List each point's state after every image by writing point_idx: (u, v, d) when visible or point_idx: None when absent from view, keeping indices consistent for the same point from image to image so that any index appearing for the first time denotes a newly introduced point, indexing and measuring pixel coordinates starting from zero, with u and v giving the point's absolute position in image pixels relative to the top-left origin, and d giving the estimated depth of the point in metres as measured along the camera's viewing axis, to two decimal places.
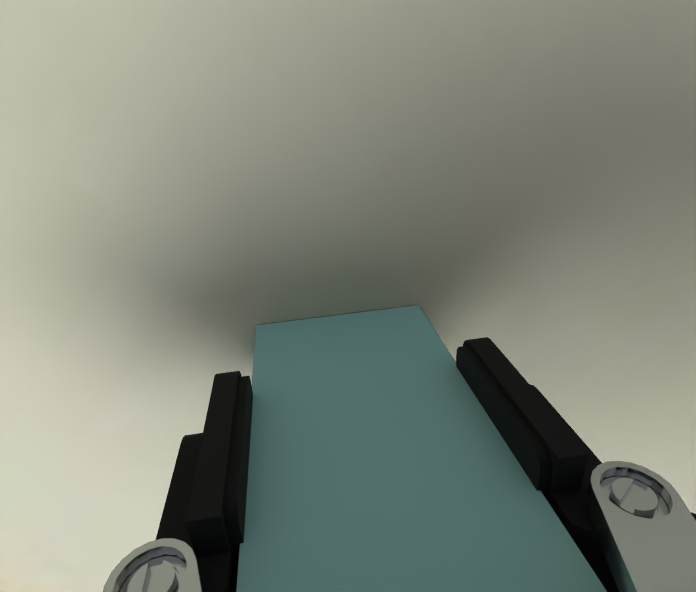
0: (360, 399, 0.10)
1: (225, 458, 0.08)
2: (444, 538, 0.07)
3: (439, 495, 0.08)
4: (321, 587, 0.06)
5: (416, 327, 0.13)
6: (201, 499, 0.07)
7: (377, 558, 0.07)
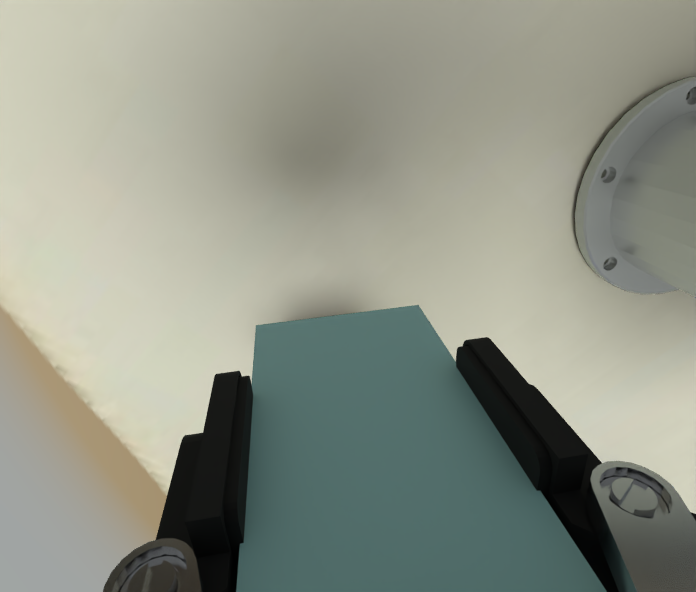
0: (360, 399, 0.10)
1: (225, 458, 0.08)
2: (444, 538, 0.07)
3: (439, 495, 0.08)
4: (321, 587, 0.06)
5: (415, 327, 0.13)
6: (201, 499, 0.07)
7: (377, 558, 0.07)
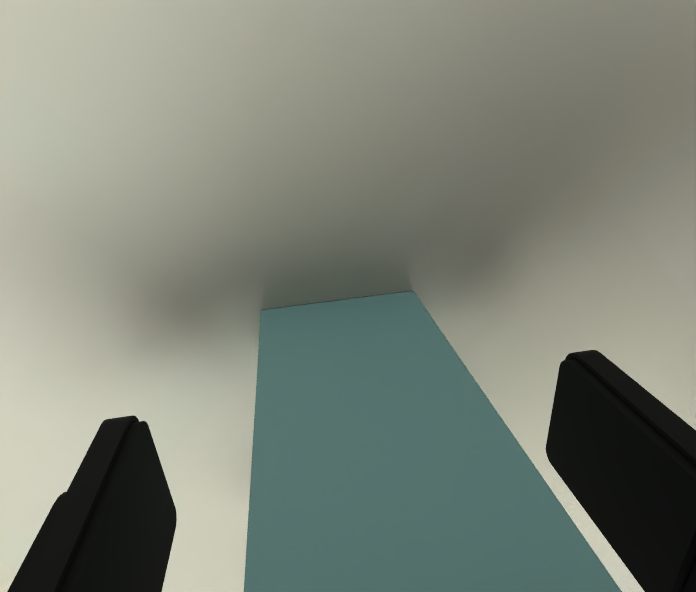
0: (357, 371, 0.11)
1: (75, 536, 0.06)
2: (432, 481, 0.08)
3: (428, 448, 0.08)
4: (322, 521, 0.07)
5: (410, 310, 0.14)
6: None
7: (372, 498, 0.08)
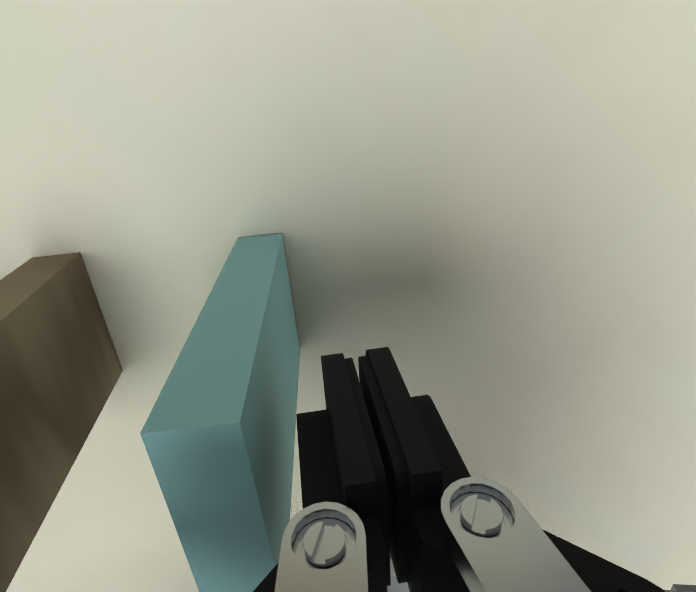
0: (284, 351, 0.14)
1: (361, 430, 0.08)
2: (279, 456, 0.11)
3: (282, 439, 0.11)
4: (265, 403, 0.10)
5: (297, 358, 0.17)
6: (352, 466, 0.07)
7: (272, 425, 0.10)
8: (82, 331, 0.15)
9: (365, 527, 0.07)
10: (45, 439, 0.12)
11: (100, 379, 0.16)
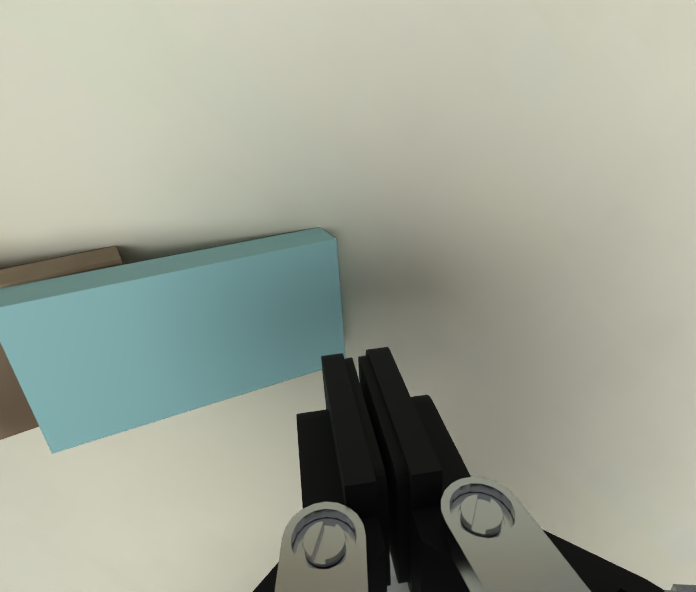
0: (228, 332, 0.15)
1: (361, 430, 0.08)
2: (117, 381, 0.14)
3: (145, 379, 0.14)
4: (82, 331, 0.13)
5: (312, 361, 0.17)
6: (352, 466, 0.07)
7: (102, 353, 0.13)
8: None
9: (365, 527, 0.07)
10: None
11: None
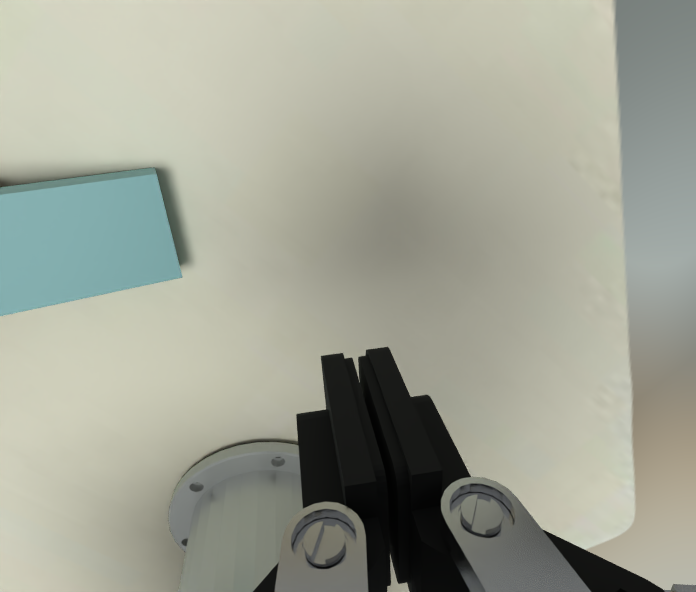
0: (70, 245, 0.19)
1: (361, 430, 0.08)
2: None
3: (2, 277, 0.19)
4: None
5: (150, 274, 0.21)
6: (352, 467, 0.07)
7: None
8: None
9: (365, 527, 0.07)
10: None
11: None
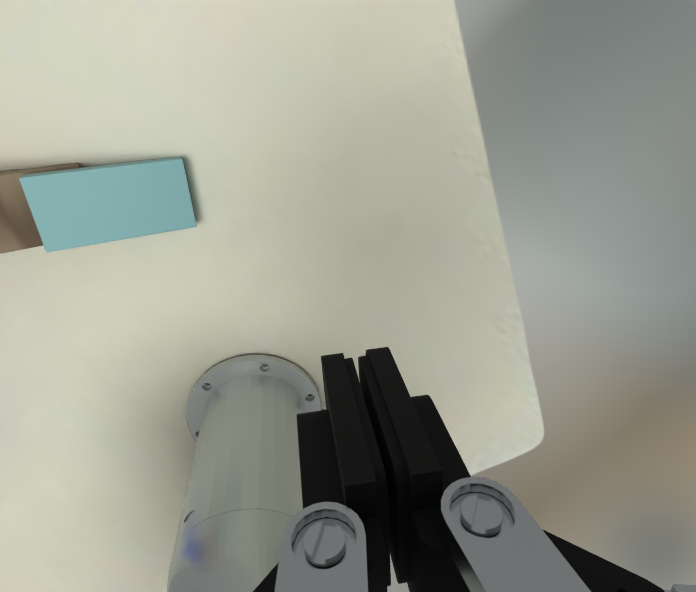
0: (129, 201, 0.32)
1: (361, 430, 0.08)
2: (76, 220, 0.31)
3: (89, 220, 0.31)
4: (59, 192, 0.30)
5: (176, 223, 0.33)
6: (352, 466, 0.07)
7: (68, 204, 0.30)
8: None
9: (365, 527, 0.07)
10: (4, 229, 0.30)
11: None
